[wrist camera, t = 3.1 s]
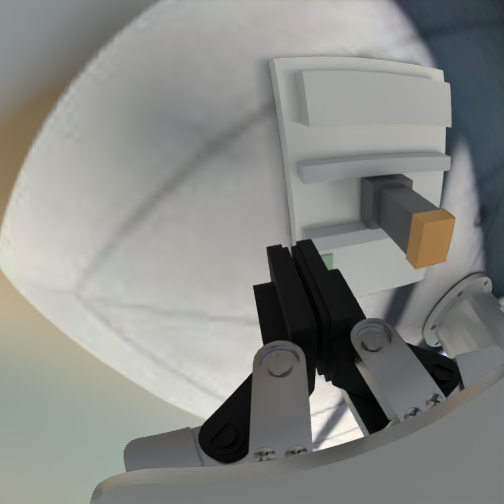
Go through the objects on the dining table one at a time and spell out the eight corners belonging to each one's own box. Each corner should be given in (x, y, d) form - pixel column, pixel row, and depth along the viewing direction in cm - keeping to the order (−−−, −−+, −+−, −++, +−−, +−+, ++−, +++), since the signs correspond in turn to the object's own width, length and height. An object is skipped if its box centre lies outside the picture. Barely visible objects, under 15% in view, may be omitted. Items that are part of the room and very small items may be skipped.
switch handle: (399, 172, 15) (461, 213, 10) (396, 212, 17) (449, 262, 12) (361, 176, 15) (418, 220, 10) (360, 218, 17) (408, 274, 12)
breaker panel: (426, 69, 13) (458, 71, 10) (413, 267, 23) (432, 290, 20) (268, 62, 13) (279, 54, 10) (296, 293, 23) (305, 324, 20)
